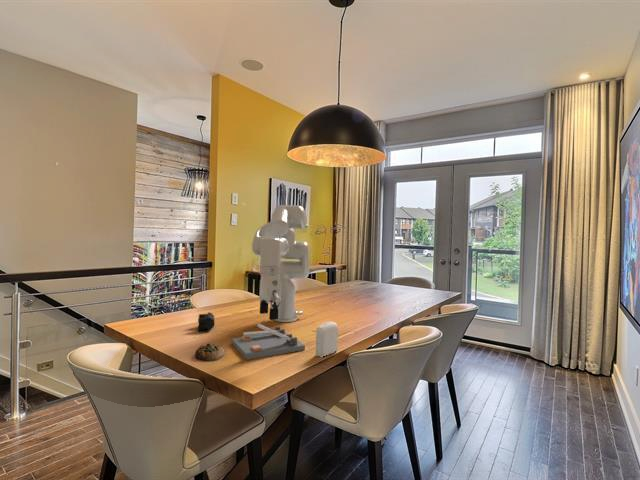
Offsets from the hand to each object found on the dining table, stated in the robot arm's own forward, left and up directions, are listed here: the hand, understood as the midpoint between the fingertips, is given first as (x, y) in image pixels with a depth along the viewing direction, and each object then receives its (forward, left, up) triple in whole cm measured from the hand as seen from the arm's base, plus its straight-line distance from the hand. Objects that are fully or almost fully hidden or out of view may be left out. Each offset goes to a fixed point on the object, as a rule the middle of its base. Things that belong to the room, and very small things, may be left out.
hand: (268, 316), depth 125 cm
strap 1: (-5, -17, -13) cm, 21 cm away
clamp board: (-4, -11, -16) cm, 19 cm away
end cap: (+13, -46, -16) cm, 50 cm away
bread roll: (+18, -11, -16) cm, 27 cm away
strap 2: (-5, -5, -9) cm, 12 cm away
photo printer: (-22, +6, -16) cm, 28 cm away
